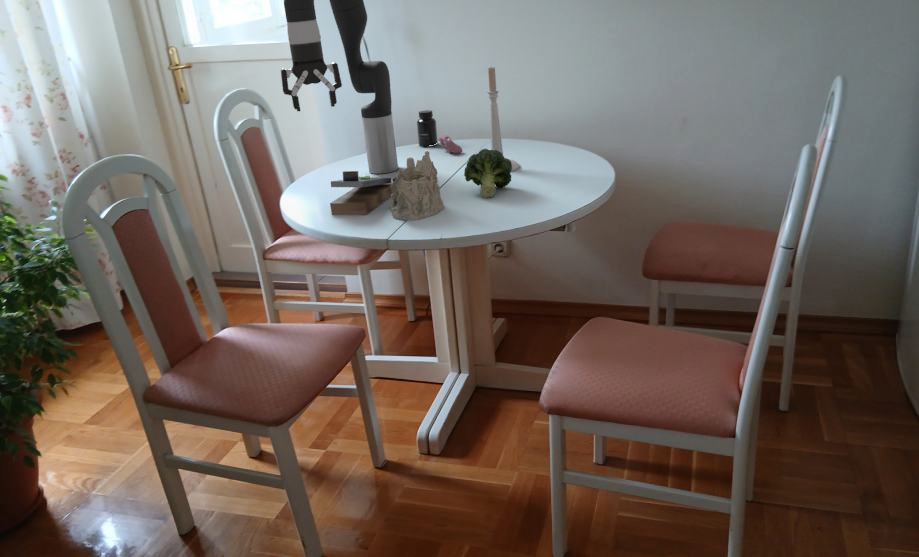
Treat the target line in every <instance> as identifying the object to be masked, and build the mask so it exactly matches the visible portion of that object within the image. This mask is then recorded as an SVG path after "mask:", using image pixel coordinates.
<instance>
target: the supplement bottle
mask: <svg viewBox="0 0 919 557" xmlns="http://www.w3.org/2000/svg"><path fill="white" fill-rule="evenodd" d="M416 129H417V140H418V146H419V147H420V146H429V145H434V144H436V143H438V144H439V139H438V130H437V121H436V119H435V118H433V111H432V110H429V109H428V110H427V109H426V110H420V111H418V120H417V122H416Z"/></svg>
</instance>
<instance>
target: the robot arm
mask: <svg viewBox="0 0 919 557" xmlns="http://www.w3.org/2000/svg"><path fill="white" fill-rule="evenodd" d="M329 4H330V7H331V10H332V14H333V17H334V21H335V24H336V27H337V30H338V33H339V36H340V39H341V43H342V46H343V50H344V51H343V52H344V54H345V55H344V56H345V59H346V65H347V68H348V69H347V70H348V73H349V78H350V81H351V84H352V87H353V89H354V91H356V93H358V94H374V100H373V101H372V102H370V103H368V104H366V105H364V106H362V107H361V109H360V112H361V121H362V126H363V128H362V129H363V135H364V144H365V151H366V157H367V166H368V173H371V174H388V173H392V172H395V171H397V170H399V164H398V163H399V162H398V152H397V147H396V146H397V145H396V137H395V130H394V129H395V128H394V123H393V122H394V121H393V120H394V119H393V114H392V113H393V112H392V92H391V78H390V76H391V75H390V70H389V67H388V65H387V64H386V62H384V61H381V60H373V61H364V60H363V58H362V52H361V44H362V40H363V36H364V34H365V30H366V27H367V23H368V14H367V9H366V6H365V2H364V0H329ZM283 7H284V13H285V18H286V25H287V37H288V42H289V50H290V55H291V63H292V68H281V69H280V76H281V86H282V93H283V94H284V95H287V96H291V100H292V107H293V108H294V110H296V111H297V112H301V106H300V101H299V96H298V92H299V91H300V89H301V88H302V85H306V86H308V85H310V84H314V85H315V84H319V83H323V85H324V86H326V87H327V88H328V95H329V102H330V106H331V108H332V107H335V105H336V104H337V102H338V101H337V95H336V90H338V89H339V88H342V86H343V84H342V79H341V74H340V68H339V65H338V63H336V62H335V61H333V62H331V63H328V64H327V63H325V59H324V53H323V46H322V40H321V39H322V37H321V34H320V33H321V32H320V28H319V25H318V21H317V15H316V8H315V0H283ZM327 69H328V70H329V72H330V73H332V74H333V77H334V83H333V84H332V83H331V82H330V81H329V80H328V79H327V78H326V77H325V74H326V72H327V71H328V70H327ZM291 74H293V75H294V76H295V77H296V78H297V79H296V80H295V83H294V85H293V86H292V88H291V89H289V82H288V79H290V77H291Z"/></svg>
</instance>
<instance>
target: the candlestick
mask: <svg viewBox="0 0 919 557" xmlns="http://www.w3.org/2000/svg"><path fill="white" fill-rule="evenodd" d="M487 74H488V75H487V76H488V89H489V90H488V91H486V93H487V94H488V98H489V101H490V136H491V138H490V140H491V141H490V143H491V149H490V150H497V151H500V152H501V153H502V154H503V155H504V151H503V150H504V149H503V143H502V133H501V132H502V131H501V124H500V116H499V108H498V107H499V106H498V103H497V100H498V98H499V96H498V94H499V92H500V90H498V89H497V81H496V80H497V79H496V78H497V77H496V67H492V66H490V67H487ZM508 159H509V160H510V161H511V164H512V170H511V172H515V171H517V170H518V169H519V168H520V163H518V162H517V161H515V160H513V159H510V158H508ZM511 172H510V173H511Z"/></svg>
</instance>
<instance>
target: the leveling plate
mask: <svg viewBox="0 0 919 557" xmlns="http://www.w3.org/2000/svg"><path fill="white" fill-rule="evenodd" d="M388 183H393V181H392V177H391V176H390V177H388V176H387V177H384V176H383V177H379V176H378V177H374V176H373V177H372V176H370V175H359V171H358V170H349V171H348V170H345V171H342V179H338V180H331V181H330V188H355V187H368V186H375V185H381V184H388Z"/></svg>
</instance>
